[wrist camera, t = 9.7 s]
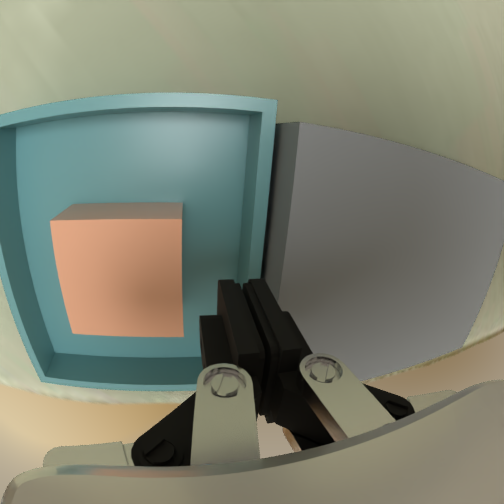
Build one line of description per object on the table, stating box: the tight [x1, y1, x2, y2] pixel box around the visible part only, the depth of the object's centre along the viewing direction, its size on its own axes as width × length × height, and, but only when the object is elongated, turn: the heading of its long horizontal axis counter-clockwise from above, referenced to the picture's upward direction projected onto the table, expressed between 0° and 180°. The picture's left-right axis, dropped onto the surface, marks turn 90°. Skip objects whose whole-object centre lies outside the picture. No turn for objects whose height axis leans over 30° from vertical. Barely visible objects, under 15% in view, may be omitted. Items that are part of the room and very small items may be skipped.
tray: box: [0, 93, 278, 391], centre depth 14 cm, size 14×16×3 cm
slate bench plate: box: [260, 122, 504, 381], centre depth 16 cm, size 18×14×5 cm
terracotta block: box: [50, 202, 184, 337], centre depth 13 cm, size 6×6×3 cm
